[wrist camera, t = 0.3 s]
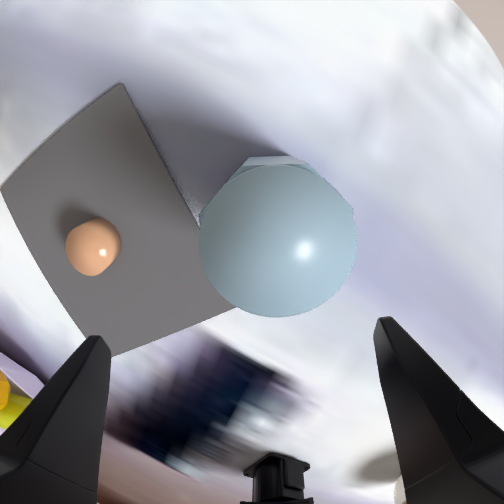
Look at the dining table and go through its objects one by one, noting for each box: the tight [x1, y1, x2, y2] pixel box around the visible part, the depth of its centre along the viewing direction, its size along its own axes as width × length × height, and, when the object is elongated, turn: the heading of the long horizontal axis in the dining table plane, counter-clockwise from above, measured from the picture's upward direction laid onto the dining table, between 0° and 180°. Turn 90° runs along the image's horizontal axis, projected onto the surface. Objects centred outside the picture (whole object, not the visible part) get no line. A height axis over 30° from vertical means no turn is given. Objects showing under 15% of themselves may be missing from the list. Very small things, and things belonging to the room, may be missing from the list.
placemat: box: [0, 83, 236, 357], centre depth 24 cm, size 20×16×1 cm
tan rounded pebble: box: [66, 218, 122, 276], centre depth 23 cm, size 4×4×2 cm
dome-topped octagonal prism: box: [198, 155, 357, 317], centre depth 19 cm, size 7×7×10 cm
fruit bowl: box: [0, 352, 45, 435], centre depth 28 cm, size 28×27×11 cm
